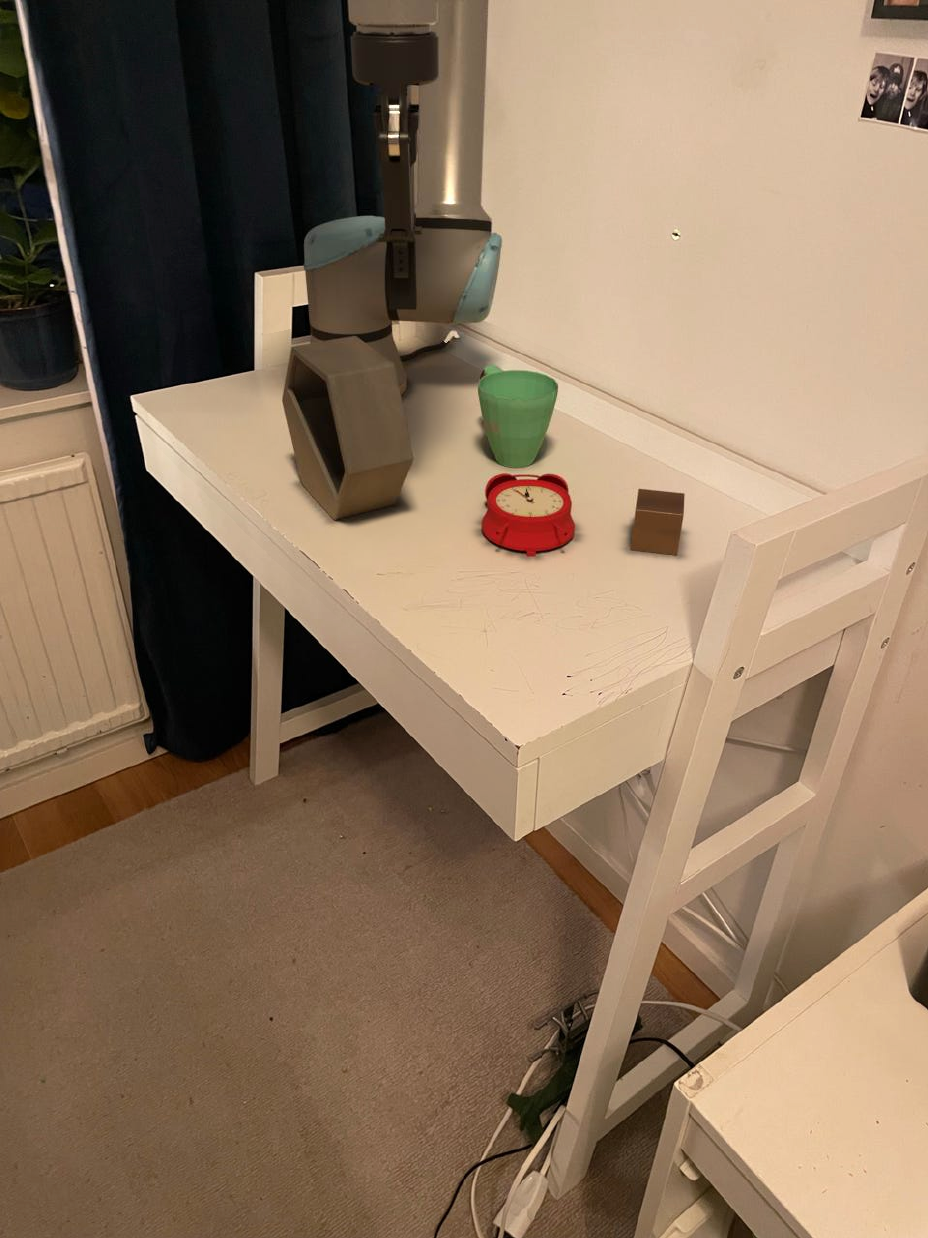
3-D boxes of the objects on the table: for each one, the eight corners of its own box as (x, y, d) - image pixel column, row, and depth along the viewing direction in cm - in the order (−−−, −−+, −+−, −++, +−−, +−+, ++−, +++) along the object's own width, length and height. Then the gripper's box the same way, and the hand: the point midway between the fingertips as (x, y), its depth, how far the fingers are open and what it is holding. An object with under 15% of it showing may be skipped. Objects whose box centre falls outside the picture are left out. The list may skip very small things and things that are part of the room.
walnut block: (633, 527, 105) (638, 488, 103) (678, 532, 105) (684, 492, 102) (630, 550, 101) (635, 509, 99) (677, 555, 101) (683, 514, 98)
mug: (566, 469, 117) (572, 393, 112) (495, 482, 114) (497, 404, 108) (517, 424, 128) (520, 353, 123) (451, 435, 125) (451, 362, 120)
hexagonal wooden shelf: (276, 426, 116) (297, 311, 97) (334, 414, 119) (364, 301, 101) (326, 543, 111) (357, 445, 93) (385, 527, 114) (426, 429, 96)
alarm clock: (483, 529, 97) (481, 440, 107) (481, 571, 102) (480, 482, 112) (582, 530, 98) (572, 441, 107) (576, 572, 102) (567, 483, 112)
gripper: (436, 36, 74) (439, 329, 88) (440, 22, 85) (441, 286, 99) (342, 35, 74) (359, 329, 88) (357, 21, 85) (370, 286, 99)
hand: (403, 306), depth 93 cm, fingers closed
